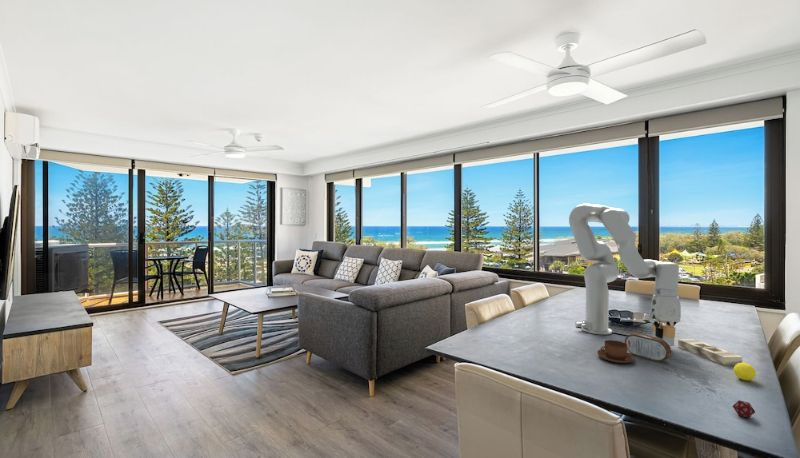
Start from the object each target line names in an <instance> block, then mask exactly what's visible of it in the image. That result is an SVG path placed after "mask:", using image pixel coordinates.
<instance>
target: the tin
mask: <svg viewBox="0 0 800 458" xmlns="http://www.w3.org/2000/svg"><path fill="white" fill-rule="evenodd" d="M624 343H626V344H627V352H629V354H631V355H633V356H637V357H640V358H644V359H647V360H651V361H654V362H659V363H660V362H665V361H667V360H669V359H670V357H671V356H672V349H671V346H669V345H668V343H667V342H665V341H664V340H662V339H660V338H656V337H653V335H647V334H643V333H639V332H632V333H630V334H628V335H627V336H626V338H625V339H624Z"/></svg>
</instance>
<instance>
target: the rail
mask: <svg viewBox="0 0 800 458" xmlns="http://www.w3.org/2000/svg"><path fill="white" fill-rule="evenodd" d="M677 348H679V349H683V350H685V351H688V352H690V353H692V354H695V355H697V356H700V357H703V358H704V359H708V360H709V361H712V362H714V363H717V364H719V365H722V366H735V365H736V364H738V363H743V356H742V355H738V354H736V353H734V352H730V351H727V350H725V349H722V348H719V347H717V346H714V345H711V344H708V343H706V342H703V341H700V340H698V339H696V338H695V339H694V338H691V339H690V338H688V339H687V338H684V339H681V338H680V339H678V340H677Z"/></svg>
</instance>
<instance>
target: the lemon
mask: <svg viewBox="0 0 800 458" xmlns="http://www.w3.org/2000/svg"><path fill="white" fill-rule="evenodd" d="M733 366H734V367H733V373H734V374H735V376H736V377H737V378H739V379H740V380H741V381H742V380H743V381H752V380H755V377H756V376H757V375H756V374H757V371H756V369H755V367H753V365H751V364H749V363H747V362H742V363H738V364H736V365H733Z"/></svg>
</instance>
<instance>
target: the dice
mask: <svg viewBox="0 0 800 458" xmlns="http://www.w3.org/2000/svg"><path fill="white" fill-rule="evenodd" d="M732 408H733V409H734V411H735V412H736V414H737V415H738V417H739V416H740V417H744V418H748V419H749V418H750V417H751V416H752V415H754V414H755V413H756V411H755V409H754V408H753V405H751V402H749V401H744V400H740V399H739V400H737V402H735V403H734V404H733V405H732Z"/></svg>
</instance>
